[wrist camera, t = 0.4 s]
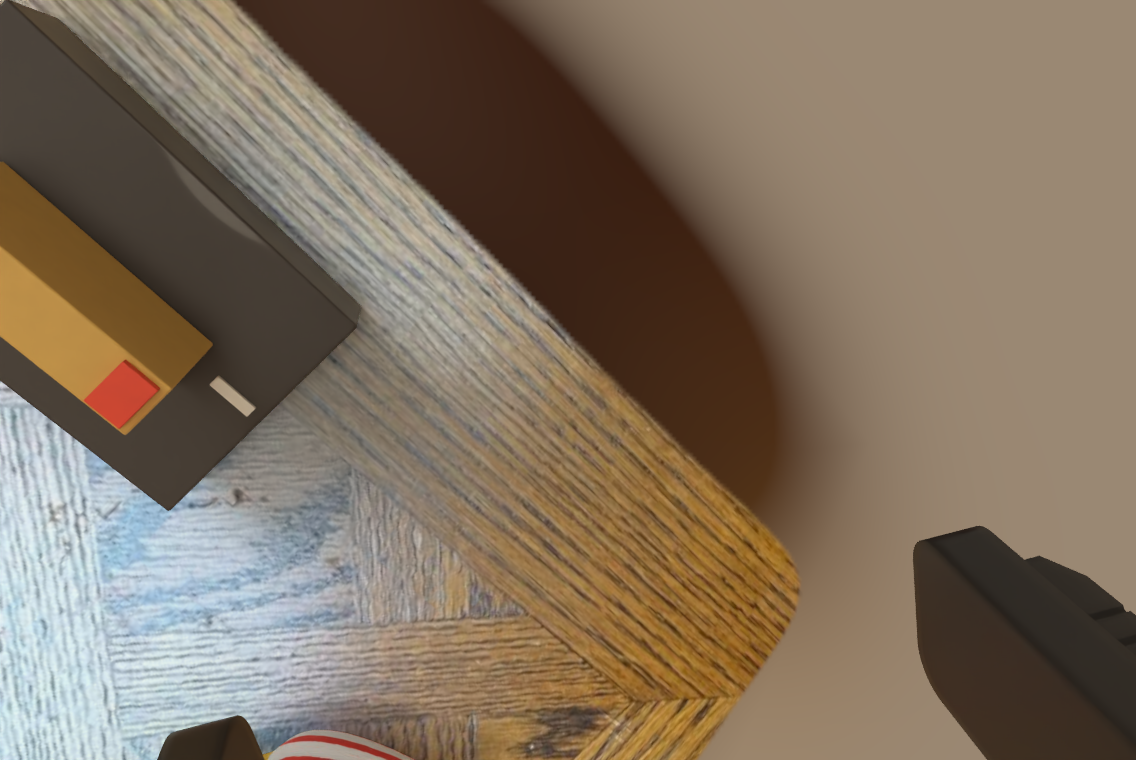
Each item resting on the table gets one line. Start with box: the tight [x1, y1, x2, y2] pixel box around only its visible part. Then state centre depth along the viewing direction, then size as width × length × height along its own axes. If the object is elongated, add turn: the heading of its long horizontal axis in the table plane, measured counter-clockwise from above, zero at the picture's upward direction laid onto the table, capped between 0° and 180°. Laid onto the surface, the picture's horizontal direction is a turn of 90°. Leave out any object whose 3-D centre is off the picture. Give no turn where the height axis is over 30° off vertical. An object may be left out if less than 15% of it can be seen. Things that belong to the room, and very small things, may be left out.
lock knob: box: [0, 162, 213, 435], centre depth 22 cm, size 7×2×5 cm, turn 43°
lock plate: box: [0, 0, 361, 511], centre depth 26 cm, size 12×8×4 cm, turn 43°
